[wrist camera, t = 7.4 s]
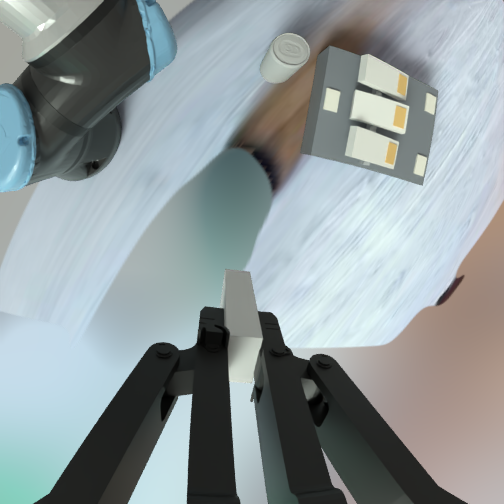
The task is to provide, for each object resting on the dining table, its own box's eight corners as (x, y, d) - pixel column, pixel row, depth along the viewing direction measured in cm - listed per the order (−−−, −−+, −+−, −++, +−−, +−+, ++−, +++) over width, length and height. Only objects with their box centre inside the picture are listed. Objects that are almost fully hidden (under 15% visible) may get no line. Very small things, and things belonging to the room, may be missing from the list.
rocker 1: (357, 81, 34) (365, 80, 32) (361, 55, 32) (368, 53, 31) (398, 100, 36) (406, 100, 35) (401, 76, 35) (409, 75, 33)
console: (300, 153, 45) (313, 155, 38) (317, 54, 39) (333, 42, 32) (403, 179, 48) (427, 187, 41) (418, 92, 42) (443, 89, 35)
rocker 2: (349, 118, 37) (351, 117, 36) (353, 91, 36) (355, 89, 34) (401, 134, 36) (405, 133, 35) (405, 107, 35) (409, 106, 33)
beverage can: (264, 53, 39) (277, 26, 27) (293, 62, 39) (315, 39, 28) (255, 79, 40) (266, 59, 29) (285, 88, 41) (305, 72, 30)
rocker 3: (344, 155, 37) (352, 156, 36) (350, 125, 36) (358, 126, 34) (386, 167, 40) (394, 169, 38) (391, 140, 38) (399, 142, 37)
